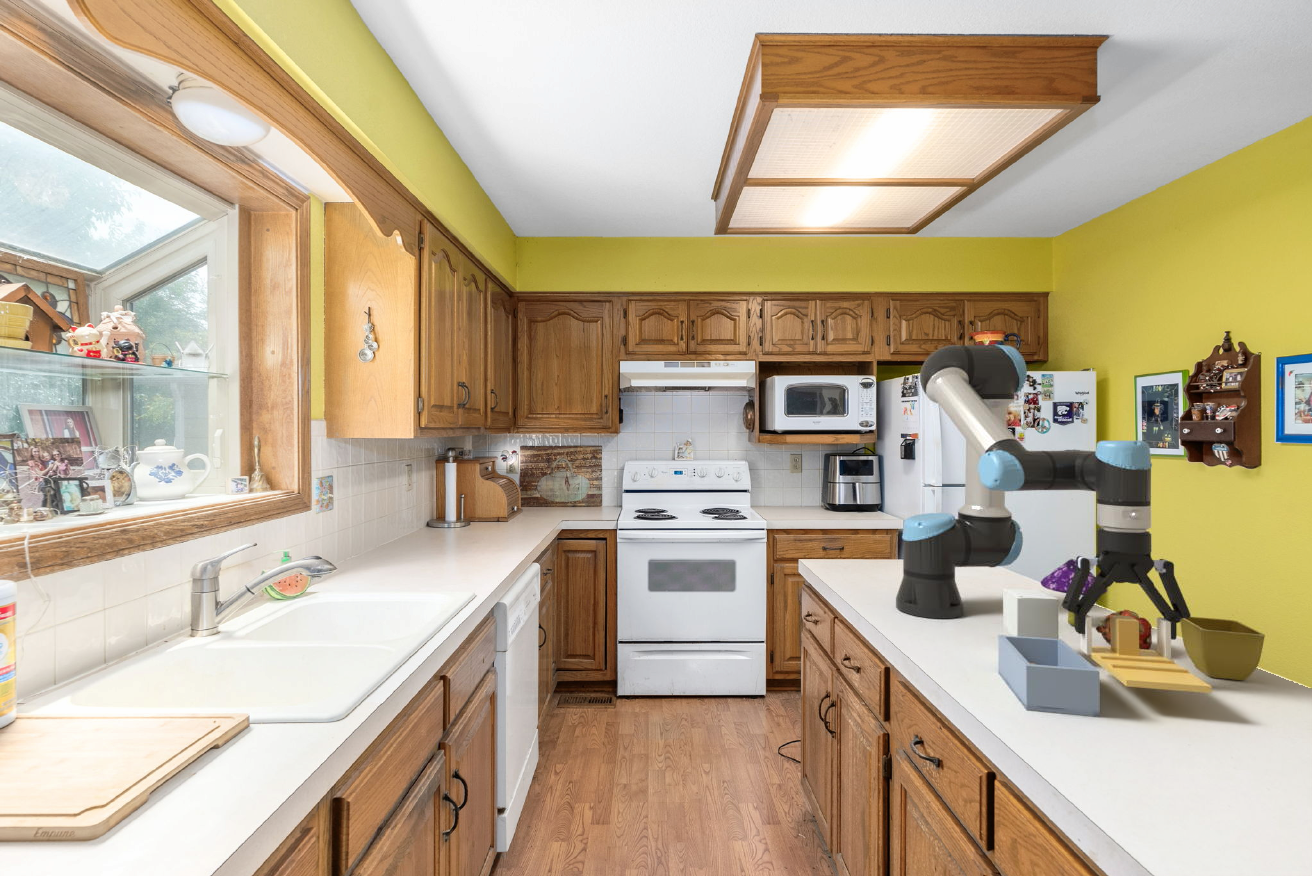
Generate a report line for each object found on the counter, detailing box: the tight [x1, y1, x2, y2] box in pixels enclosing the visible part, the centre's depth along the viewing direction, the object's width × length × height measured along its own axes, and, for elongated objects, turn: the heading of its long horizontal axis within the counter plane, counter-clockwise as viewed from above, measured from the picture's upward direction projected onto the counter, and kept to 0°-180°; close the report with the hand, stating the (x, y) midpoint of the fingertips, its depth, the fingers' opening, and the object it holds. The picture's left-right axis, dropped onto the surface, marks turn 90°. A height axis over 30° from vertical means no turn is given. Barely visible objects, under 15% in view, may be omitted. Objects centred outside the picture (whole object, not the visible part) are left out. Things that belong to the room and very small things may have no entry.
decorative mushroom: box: [1040, 558, 1108, 627], centre depth 137 cm, size 12×12×15 cm
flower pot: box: [1179, 616, 1266, 681], centre depth 109 cm, size 9×9×9 cm
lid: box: [1087, 614, 1212, 694], centre depth 101 cm, size 16×11×8 cm
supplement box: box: [1002, 588, 1060, 639], centre depth 118 cm, size 7×7×13 cm
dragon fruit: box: [1095, 609, 1153, 650], centre depth 122 cm, size 8×8×12 cm
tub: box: [997, 634, 1101, 718], centre depth 102 cm, size 15×10×7 cm, turn 165°
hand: (1124, 654), depth 106 cm, fingers closed on lid, 11 cm apart
